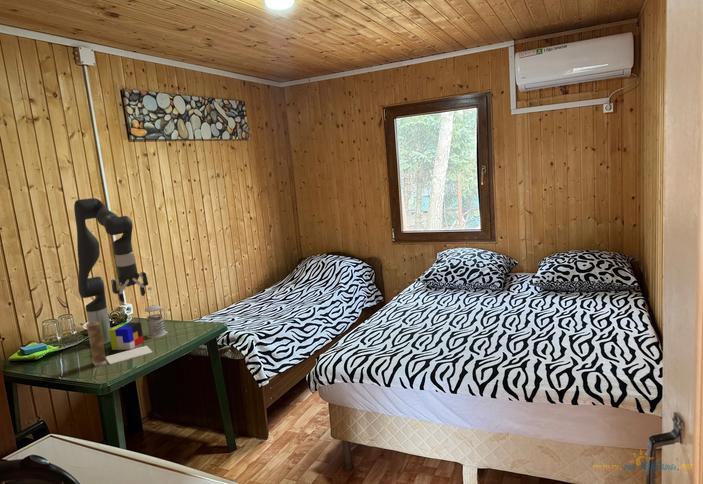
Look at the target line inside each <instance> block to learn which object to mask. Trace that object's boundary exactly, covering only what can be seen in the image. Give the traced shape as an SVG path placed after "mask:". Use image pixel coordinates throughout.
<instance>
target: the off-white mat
mask: <svg viewBox="0 0 703 484" xmlns="http://www.w3.org/2000/svg"><path fill="white" fill-rule="evenodd" d="M150 354H153V351H152V349H151V348H149V346H148V345H144V346H141V347H137V348H136V347H135V348H132V349H127V350H126V351H122V352H118V353H115V354H111V355H107V356H106V355H105V356H106V362H107V363H108V365H110V366H111V365H114V364H118V363H122V362H126V361H128V360H132V359H135V358H139V357H142V356H143V357H144V356H147V355H150Z"/></svg>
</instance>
